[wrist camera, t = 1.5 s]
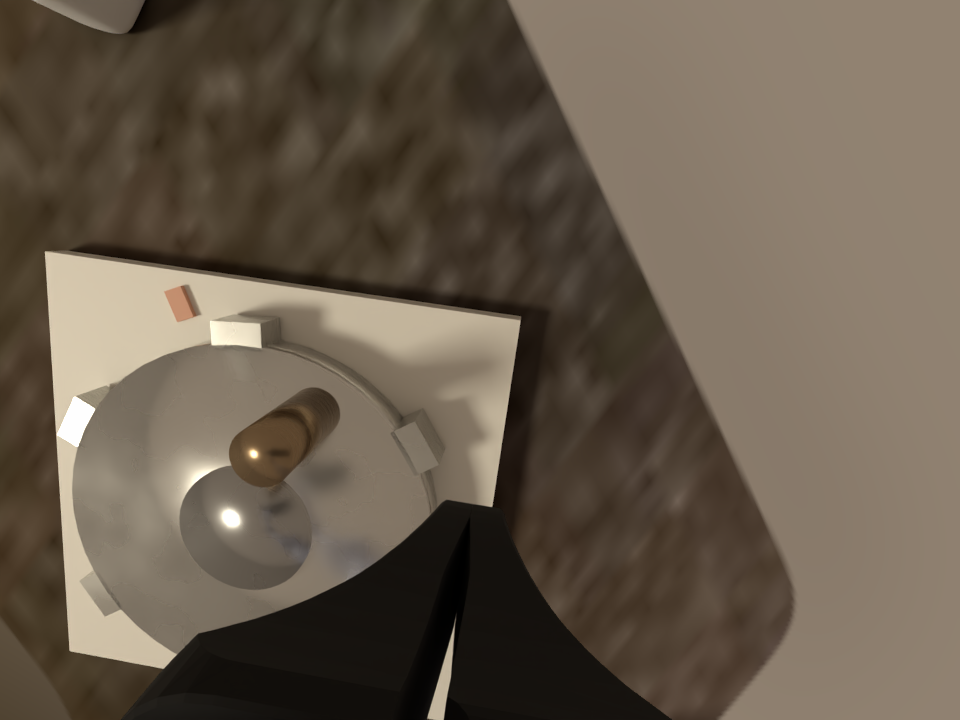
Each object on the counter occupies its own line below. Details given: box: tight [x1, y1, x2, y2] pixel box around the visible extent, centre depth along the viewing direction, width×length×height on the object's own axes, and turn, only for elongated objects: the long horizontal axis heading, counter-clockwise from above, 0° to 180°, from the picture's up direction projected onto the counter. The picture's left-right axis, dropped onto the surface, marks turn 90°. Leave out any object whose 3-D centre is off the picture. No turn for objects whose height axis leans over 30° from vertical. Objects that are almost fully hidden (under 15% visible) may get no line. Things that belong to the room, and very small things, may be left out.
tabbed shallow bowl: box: [58, 314, 445, 654], centre depth 19 cm, size 14×16×6 cm
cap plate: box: [45, 251, 521, 720], centre depth 22 cm, size 18×18×1 cm
